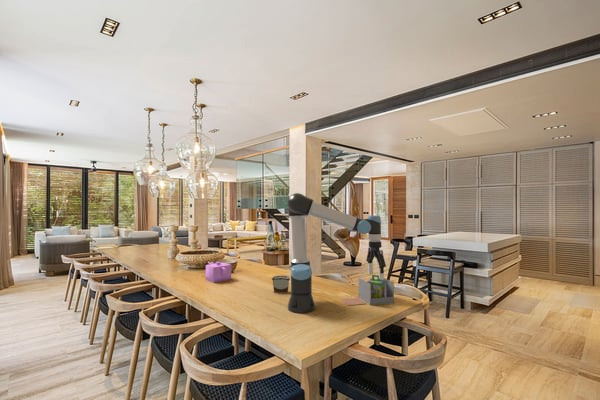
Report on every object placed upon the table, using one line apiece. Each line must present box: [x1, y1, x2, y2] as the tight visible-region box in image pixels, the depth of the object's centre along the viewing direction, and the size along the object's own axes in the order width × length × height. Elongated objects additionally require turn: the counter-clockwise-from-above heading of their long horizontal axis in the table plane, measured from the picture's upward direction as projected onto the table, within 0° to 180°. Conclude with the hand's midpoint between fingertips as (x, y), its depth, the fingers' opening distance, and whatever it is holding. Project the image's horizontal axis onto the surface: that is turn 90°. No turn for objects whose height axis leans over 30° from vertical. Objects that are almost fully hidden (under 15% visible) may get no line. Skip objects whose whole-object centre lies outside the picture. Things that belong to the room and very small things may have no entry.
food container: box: [271, 275, 291, 294], centre depth 201 cm, size 12×6×10 cm, turn 84°
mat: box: [341, 297, 367, 307], centre depth 177 cm, size 11×11×1 cm
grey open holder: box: [357, 277, 395, 306], centre depth 181 cm, size 15×16×12 cm
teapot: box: [205, 261, 232, 284], centre depth 235 cm, size 15×25×14 cm, turn 42°
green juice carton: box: [366, 274, 385, 299], centre depth 181 cm, size 9×9×15 cm
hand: (375, 276), depth 181 cm, fingers open, 13 cm apart
